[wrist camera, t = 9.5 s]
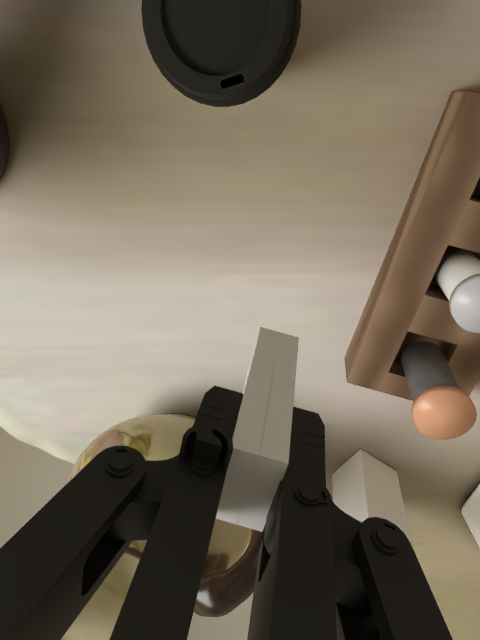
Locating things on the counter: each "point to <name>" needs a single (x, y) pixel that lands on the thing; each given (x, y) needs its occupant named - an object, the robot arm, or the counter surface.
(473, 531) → the plate
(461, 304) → the knob mid
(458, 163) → the mount
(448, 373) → the pot knob
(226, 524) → the pitcher
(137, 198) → the counter surface
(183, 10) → the coffee cup
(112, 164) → the counter surface
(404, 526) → the milk
